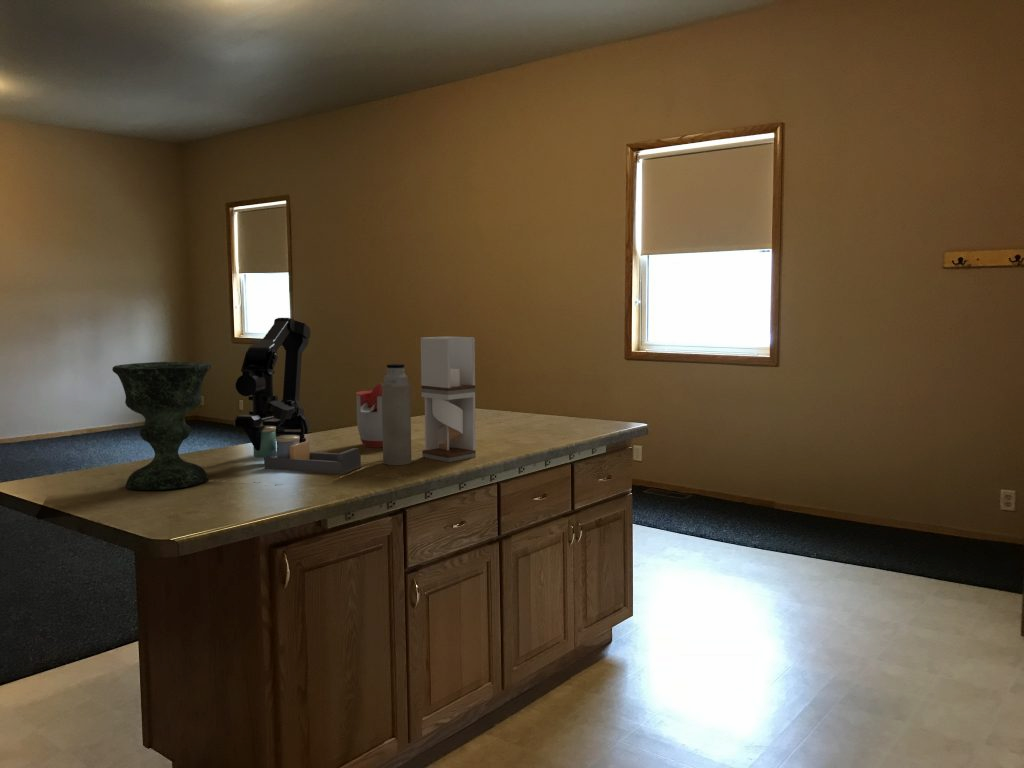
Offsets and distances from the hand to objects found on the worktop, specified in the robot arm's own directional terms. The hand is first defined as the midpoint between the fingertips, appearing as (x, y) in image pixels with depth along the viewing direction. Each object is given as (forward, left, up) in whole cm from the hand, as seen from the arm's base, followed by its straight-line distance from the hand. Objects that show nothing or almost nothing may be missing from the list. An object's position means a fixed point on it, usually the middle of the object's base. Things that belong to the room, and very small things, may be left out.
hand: (264, 448), depth 228 cm
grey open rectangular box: (+15, 0, -5) cm, 16 cm away
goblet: (-11, -25, -5) cm, 28 cm away
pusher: (+11, 0, -4) cm, 12 cm away
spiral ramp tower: (+44, +28, -5) cm, 52 cm away
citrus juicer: (+16, +40, -5) cm, 43 cm away
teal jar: (0, 0, -2) cm, 2 cm away
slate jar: (+8, 0, -4) cm, 9 cm away
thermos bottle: (+33, +16, -5) cm, 37 cm away
